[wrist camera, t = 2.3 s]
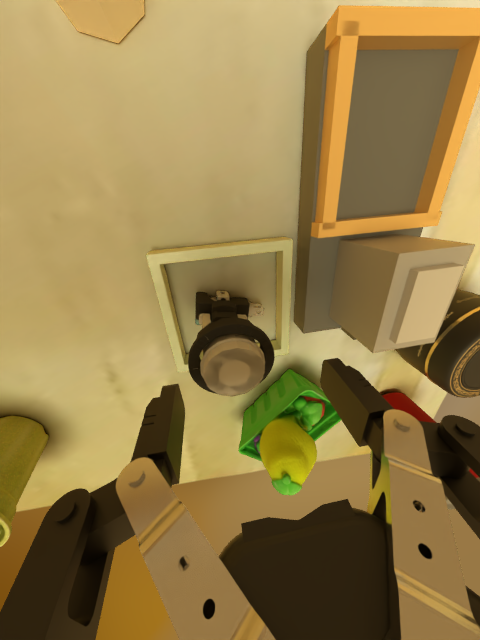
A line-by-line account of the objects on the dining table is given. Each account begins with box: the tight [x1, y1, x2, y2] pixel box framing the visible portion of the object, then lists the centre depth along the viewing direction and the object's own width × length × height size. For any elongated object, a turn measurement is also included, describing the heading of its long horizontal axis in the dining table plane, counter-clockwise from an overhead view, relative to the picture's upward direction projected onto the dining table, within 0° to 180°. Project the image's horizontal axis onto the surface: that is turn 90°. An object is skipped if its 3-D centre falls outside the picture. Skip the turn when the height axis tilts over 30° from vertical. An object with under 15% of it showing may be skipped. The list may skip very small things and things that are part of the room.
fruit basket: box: [238, 369, 341, 495], centre depth 24 cm, size 11×9×11 cm
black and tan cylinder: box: [188, 291, 274, 396], centre depth 17 cm, size 7×5×10 cm
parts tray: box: [146, 237, 293, 372], centre depth 21 cm, size 12×12×2 cm
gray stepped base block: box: [294, 6, 480, 353], centre depth 15 cm, size 10×20×9 cm, turn 4°
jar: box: [396, 290, 480, 398], centre depth 24 cm, size 10×10×8 cm
